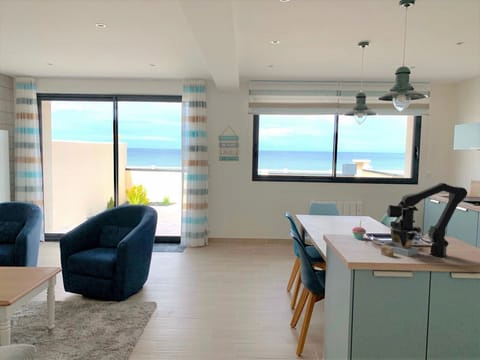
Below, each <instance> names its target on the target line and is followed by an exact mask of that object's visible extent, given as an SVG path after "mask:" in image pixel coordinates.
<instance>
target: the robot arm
mask: <svg viewBox="0 0 480 360" xmlns="http://www.w3.org/2000/svg"><path fill="white" fill-rule="evenodd" d="M441 192H445V193H448V201H447V203H446V205H445V208H444V209H443V211H442V213H441V215H440V217H439V219H438V221H437V222H436V224H435V225H434V226H433V225H431V226H429V227H430V228H429V230H428V231H427V233H428V234H427V236H428V238H429V239H430V240H431V245H430V253H429V255H431V256H434V257H439V258H445V257H448V254H447V249H448V248H447V247H448V246H449V245H450V242H448V241H447V239H446V238H445V236H446V233H447V231H446V229H447V226H448V225H449V223H450V221H451V219H452V217H453V214H454V213H455V211H456V209H457V208H458V205H459V204H461V203H462V202H463V201H464V200H465V198H466V197H467V195H468V190H467V189H466V188H465V187H462V186H453V185H450V184H447V183H445V182H444V183H443V182H439V183H438V184H436V185H433V186H431V187H428V188H426V189H423V190H421V191H419V192H415V193H411V194H410V193H409V194H406V195H404V196H402V198H401V201H400V202H398V204H397V205H393V204H388V208H387V210H386V214H387V218H395V219H396V218H399V221H395V220H393V221H390V223H389V226H390V227H391V228H392V229H393V230H392V234H396V235H398V236H399V237H400V240H401V243H402V246H403V247H404V246H405V244H406V242H407V239H409V240H412V242H413V240H414V239H415V237H416V236H417V235H418V234H419V233H422V228H421V227H420V226H416V225H414V223H416V220H414V218H415V217H414V215H415V211H416V212H418V211H419V209H418V208H417V207H416V205H417V204H419V203H420V202H422V201H423V200H425V199H427V198H430V197H432V196H435V195H436V194H439V193H441ZM400 217H401V219H400ZM394 228H396V229H394Z"/></svg>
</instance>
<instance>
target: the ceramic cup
mask: <svg viewBox="0 0 480 360" xmlns="http://www.w3.org/2000/svg"><path fill="white" fill-rule="evenodd" d="M394 229H396V228H394ZM392 230H393V229H392V227H391V228H390V235H391V236H390V237H391V242H396V243H400V237H399V236H398V235H396V234H392Z"/></svg>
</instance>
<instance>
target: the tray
mask: <svg viewBox="0 0 480 360" xmlns="http://www.w3.org/2000/svg"><path fill="white" fill-rule="evenodd" d="M382 246H390V247H393V248H394V254H397V255H400V256H404V257H411V256H415V255H419V254H420V248H419V247H414V246H412V248H411V249H404V248H401V247H400V243H396V242H392V241H390V242H384V243H381V244H380V248H381V247H382Z"/></svg>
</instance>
